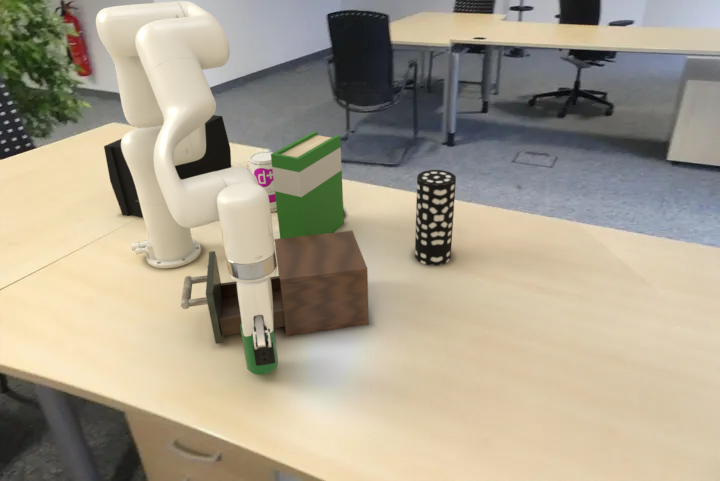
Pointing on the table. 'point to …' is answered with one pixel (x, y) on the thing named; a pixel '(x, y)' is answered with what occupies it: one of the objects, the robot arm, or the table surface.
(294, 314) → the cabinet
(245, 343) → the green can
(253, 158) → the supplement can
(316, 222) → the hardback book
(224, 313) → the drawer
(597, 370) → the table surface
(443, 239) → the white-spotted black cylinder
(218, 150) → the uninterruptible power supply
